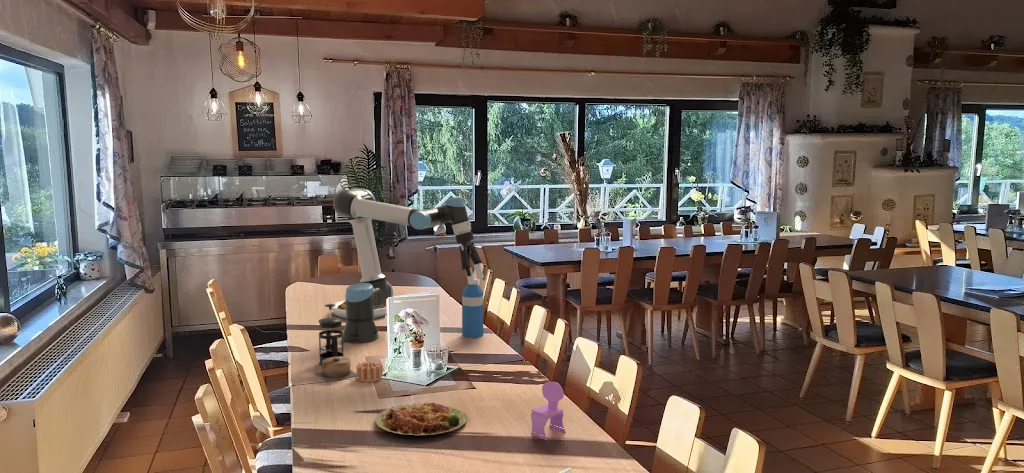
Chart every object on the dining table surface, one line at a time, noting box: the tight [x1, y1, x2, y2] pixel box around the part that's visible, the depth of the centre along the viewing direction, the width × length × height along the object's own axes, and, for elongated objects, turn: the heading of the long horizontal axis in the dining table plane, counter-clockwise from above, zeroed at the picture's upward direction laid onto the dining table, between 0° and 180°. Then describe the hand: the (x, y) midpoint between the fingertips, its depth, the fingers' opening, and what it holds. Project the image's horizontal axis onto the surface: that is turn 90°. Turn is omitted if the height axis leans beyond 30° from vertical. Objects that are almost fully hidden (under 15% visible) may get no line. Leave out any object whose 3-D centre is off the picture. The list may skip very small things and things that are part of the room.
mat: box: [314, 370, 357, 383], centre depth 265 cm, size 12×12×1 cm
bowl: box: [331, 299, 388, 319], centre depth 361 cm, size 30×30×8 cm
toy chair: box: [530, 381, 566, 441], centre depth 211 cm, size 8×9×15 cm
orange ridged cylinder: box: [356, 360, 384, 383], centre depth 261 cm, size 9×9×5 cm
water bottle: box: [461, 278, 484, 339], centre depth 319 cm, size 9×9×25 cm
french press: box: [318, 303, 345, 367], centre depth 277 cm, size 12×9×23 cm
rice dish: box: [374, 402, 468, 436], centre depth 220 cm, size 28×28×5 cm
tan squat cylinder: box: [321, 356, 352, 378], centre depth 265 cm, size 10×10×6 cm
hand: (476, 281), depth 307 cm, fingers open, 13 cm apart
